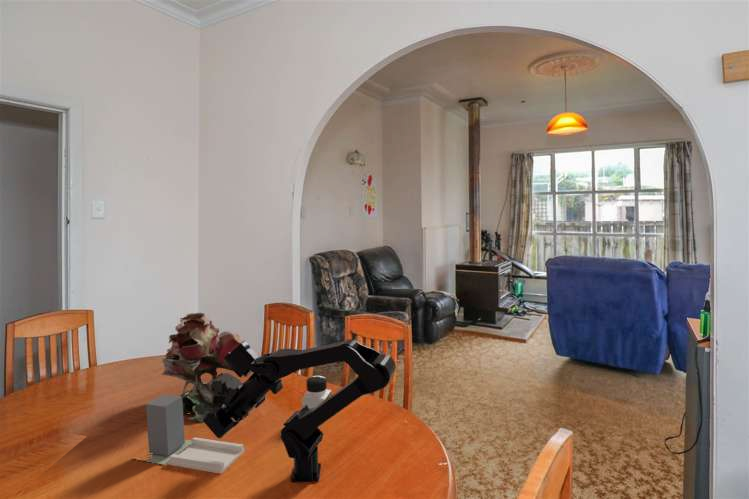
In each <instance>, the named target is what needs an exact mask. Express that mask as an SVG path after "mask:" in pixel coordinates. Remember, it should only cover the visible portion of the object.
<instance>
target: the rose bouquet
mask: <svg viewBox="0 0 749 499" xmlns="http://www.w3.org/2000/svg"><path fill="white" fill-rule="evenodd" d="M179 322H180V323H179V324H177V325H176V326H175V331H176V332H177V333H175V334H174V333H173V334H170V335H169V336H168V344H171V347H170V348H168V349H166V352H167V353H166V354H165V358H164V357H163V358H162V364H163V367H164V370H163V372H162V373H161V375H162V376H169V377H173V378H177V379H179V380H184V382H185V384H184V387H183V391H182V393H183V394H182V393H181V394H180V396H181V397H182V403H183V415H187V413H190V414H188V416H191V415H192V412H194V413H195V416H192V417H186V419H188V420H192V421H196V422H199V423H200V424H203V423H204V422H203V418H204V416H205V415H206V414H207V413H208V412H210V411H211V410H213V409H214V408H215V407H220V406H222V405H223V404H224V405H225V406H226V407H227V404H226V403H225V402H224V400H225V399H226V397H223V396H222V395H221V396H217V395H215V394H213V393H212V392H211V388H212V387H211V384H213V383H214V381H215V380H216V378H217V377H219V376H221V375H222V374H224V373H223V372H221V373H220V374H218V372H217V369H223V370H227V371H231V372H234V371H233V370H232V369H231V368H230V366H229V365H228V364H227V363H226V362H225V361H224V358H225V356H226V355H227V354H228V353H230V352H231V351H233V350H234V349H235V348H236V347H238V346H239V345H240V343H242V342H244V341H245V339H242V338H241V337H240V335H238V333H236V332H232V331H230V330H228V331H227V330H226V331H222V332H221V333H220V328H216V326H215V325H214V323H213V321H212V320H209V317H208V316H207V315H206V313H203V312H196V313H195V312H194V313H192V312H191V313H187V314H185V316H184V317H181V318H180V320H179ZM205 374H209V375H210V376H211V380H210V381H209V382H206V381H207V380H206V378H205V381H202V378H201V377H202V376H203V375H205ZM188 384H192V385H194V386H192V387H193V389H191V390H190V391H188V389H187V387H188ZM187 392H189V394H187V395H185V393H187ZM187 396H188V397H187ZM191 408H192V409H191ZM190 410H192V412H191V411H190Z"/></svg>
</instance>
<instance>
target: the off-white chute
mask: <svg viewBox="0 0 749 499" xmlns="http://www.w3.org/2000/svg"><path fill="white" fill-rule="evenodd" d="M191 441H192V444H191V445H190V446H188V447H187V448H186V449H185V450H183V451H182V452H181V453H179V454H178V455H176V454H172V455H171V456H170V461H169V462H168V465H169V466H174V467H181V468H187V469H190V470H191V469H192V470H196V471H203V472H209V473H215V474H221V475H222V474H223V473H224V471H226V470H227V469H228V468H229V467H230V466H231V465H232V464H233V463H234V462H235V461H236V460H237V459H238V458H239V457H240V456H241V455H242V454H243V453H244V452H245V448H244V444H243V443H242V444H241V443H235V442H228V441H222V440H215V439H208V438H201V437H195V436H194V437H193V438H192V439H191Z"/></svg>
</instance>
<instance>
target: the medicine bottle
mask: <svg viewBox="0 0 749 499" xmlns="http://www.w3.org/2000/svg"><path fill="white" fill-rule="evenodd" d="M327 386H328V385H327V378H326V377H325V376H322V375H313V376H310V377H309V378H307V379H306V392H305V394H304V395H303V396H302V398H301V409H302V408H303V407H304V406H305V405H306V404H307V406H308V408H309V409H312V408H315V407H316V406H318V405H319V404H320V403H322V402H323V401H325V400H326V399H327V398H329V397H330V396H331V395H332V389H328V387H327Z"/></svg>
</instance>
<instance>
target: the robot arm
mask: <svg viewBox="0 0 749 499" xmlns="http://www.w3.org/2000/svg"><path fill="white" fill-rule="evenodd" d="M224 361H225V362H226V363H227V364H228V365H229V366H230V368H231V369H232V370H233V371H232V372H234V373H235V374H236V375H237V376H238V377H239V378H240V379H241V378H242V377H245V378H246V377H248V378H247V380H245V381H244V382H243V381H242V380H240V379H239V378H238V377H236V376H234V375H232V374H231V373H229V372H224V373H223V374H222V375H221V376H219V377H217V378H216V380H215V381H214V383H213V384H211V387H212V388H211V392H212V393H213V394H215V395H217V396H221V395H222V396H223V397H226V399H225V400H224V402H225V403H226V404H227V407H226V406H225V405H224V404H223V405H222V406H220V407H215V408H214V409H213V410H211V411H210V412H208V413H207V414H206V415H205V416H204V418H203V423H204V424H205V425H206V426H207V428H209V429H210V431H211V432H212V433H213V434H214V435H215V437H216V438H217V439H222V438H223V437H224V436H225V435H227V434H228V433H229V432H230V431H231V430H232V429H233V428H235V427H236V426H237V425H238V424H240V422H241V421H243V420H245V419H246V418H247V417H248V416H249V413H250V412H251V411H253V410H254V409H257V408H259V407H260V406H261V405H262V404H264V402H266V395H267V393H269V391H271V393H272V394H273V395H277V394H278V393H279V392H280V391H281V390H283V382H282V381H283V380H282V379H283V378H286V377H287V376H289V375H292V374H293V373H295V372H298V371H300V370H304V369H309V368H315V367H318V366H319V367H320V366H326V365H329V364H330V365H331V364H335V363H339V362H340V363H341V362H344V363H346V364H347V365H348V366H349V367H350V369H352V371H353V372H354V373H355V374H356V375H357V376H356V377H355V378H354V379H352V380H351V381H349V382H348V383H346V384H345V385H344V386H343V387H341V388H340V389H338V390H337V391H336V392H334V393H333V394H331V396H330V397H329V398H327V399H326V400H325V401H323V402H322V403H320V404H319V405H318V406H316V407H315V408H312V409H309V408H308V406H307V404H306V405H305V406H304V407H303V408H302V407H301V409H300V410H296V411H294V412H293V414H292V415H290V417H289V418H288V419H287V420H286V421H285V422H283V426H284V427H283V428H282V429H281V431H280V439H281V441H282V443H283V446H284V447H285V450H286V454H287V456H288V458H290V459H293V470H292V474H291V477H290V482H291V483H308V482H319V481H320V477H321V469H322V464H321V462H319V450H318V449H319V448H318V447H319V446H318V445H319V444H320V443H322V440H323V437H324V432H323V431H322V429H320V428H319V427H320V426H321V425H323V424H324V423H325V422H327V421H328V420H330V419H331V418H332V417H334V416H335V415H337V414H339V412H341V411H342V410H345V409H346V408H347V407H348V406H349V405H351V404H352V403H353V402H355V401H357V400H358V399H360V398H361V397H363V396H365V395H369V394H371V395H372V394H373V393H375V392H378V391H380V390H382V389H384V388H386V387H387V386H388V385H389V383H390V381H391V379H392V378H393V376H394V375H395V372H396V369H397V367H396V362H395V360H394V359H393V357H391V356H390V355H388V354H386V353H385V354H384V353H381V352H379V351H378V350H377V349H375V348H373V347H370V346H367V345H364V344H362V343H360V342H359V341H357V340H355V339H353V338H349V339H348V338H347V339H346V340H343V341H340V342H339V341H338V342H334V343H329V344H326V345H325V344H324V345H320V346H315V347H311V348H305V349H296V348H280V349H278V350H276V351H274V352H270V353H263V354H262V355H260V356H259V355H258V354H257V353H256V352H255V351H254V350H253V349H252V347H251V346H250V345H249V343H248V342H247V340H244V341H242V343H240V345H239V346H238V347H236V348H235V349H234V350H233V351H231V352H230V353H228V354H227V355H226V356H225V358H224ZM250 374H251V375H250ZM249 375H250V376H249Z"/></svg>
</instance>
